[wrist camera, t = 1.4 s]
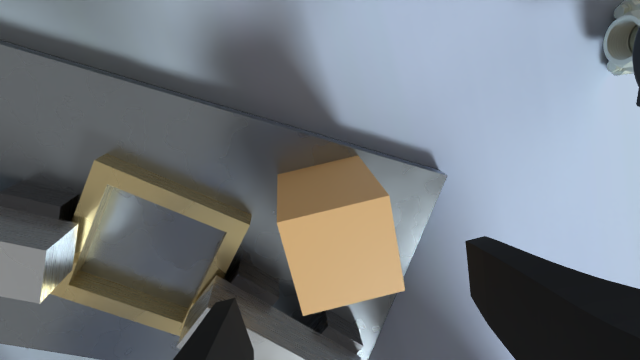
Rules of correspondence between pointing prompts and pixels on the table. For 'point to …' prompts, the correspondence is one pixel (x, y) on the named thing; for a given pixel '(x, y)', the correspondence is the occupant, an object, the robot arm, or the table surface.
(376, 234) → the tan rectangular block
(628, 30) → the pneumatic valve
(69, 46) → the table surface
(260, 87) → the table surface
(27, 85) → the shaft bench
